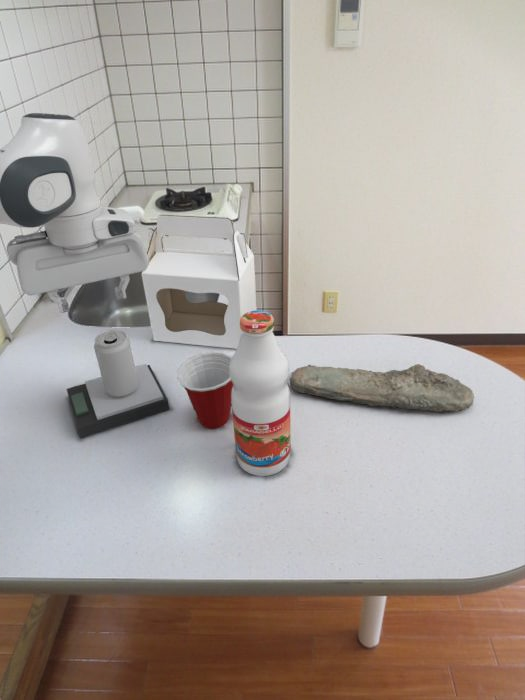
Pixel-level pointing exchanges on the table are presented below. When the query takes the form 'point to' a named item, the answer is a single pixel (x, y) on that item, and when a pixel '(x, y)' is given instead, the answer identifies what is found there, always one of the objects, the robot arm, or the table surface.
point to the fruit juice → (260, 397)
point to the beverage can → (116, 363)
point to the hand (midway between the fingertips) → (93, 304)
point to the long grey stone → (385, 387)
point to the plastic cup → (208, 387)
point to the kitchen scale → (115, 403)
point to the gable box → (198, 283)
